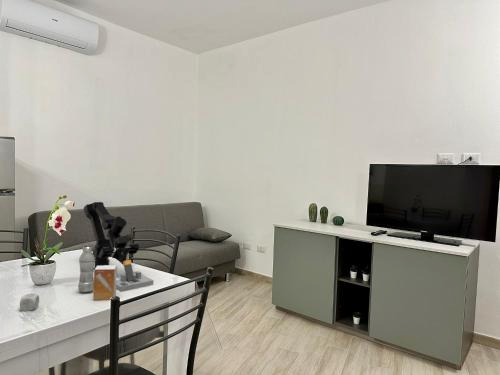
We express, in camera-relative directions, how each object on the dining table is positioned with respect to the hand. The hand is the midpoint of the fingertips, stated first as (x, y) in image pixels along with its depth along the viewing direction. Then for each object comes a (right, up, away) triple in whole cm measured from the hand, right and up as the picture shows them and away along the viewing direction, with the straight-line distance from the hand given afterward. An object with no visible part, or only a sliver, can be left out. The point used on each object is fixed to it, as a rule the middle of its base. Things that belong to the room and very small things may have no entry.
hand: (125, 264), depth 168 cm
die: (-23, -9, -37) cm, 44 cm away
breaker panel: (+4, -8, -4) cm, 10 cm away
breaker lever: (+4, -6, -4) cm, 9 cm away
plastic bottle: (-11, -8, -16) cm, 21 cm away
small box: (0, -9, -22) cm, 24 cm away
